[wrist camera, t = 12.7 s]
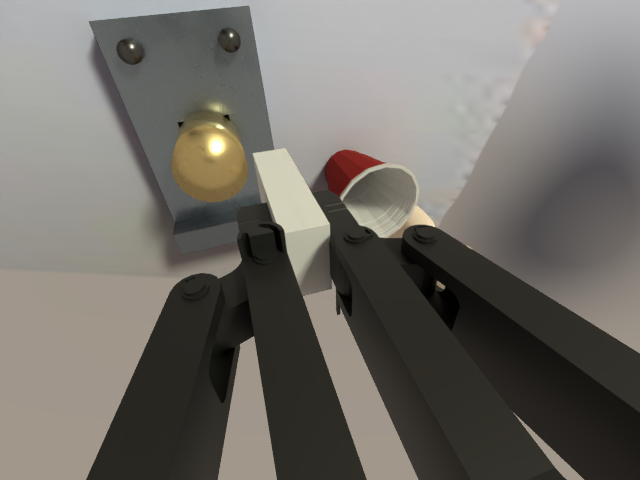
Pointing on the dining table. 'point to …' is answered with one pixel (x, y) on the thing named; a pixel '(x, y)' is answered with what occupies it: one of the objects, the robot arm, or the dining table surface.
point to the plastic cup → (373, 190)
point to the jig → (190, 101)
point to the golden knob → (209, 158)
